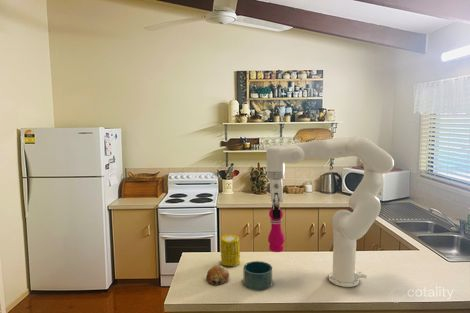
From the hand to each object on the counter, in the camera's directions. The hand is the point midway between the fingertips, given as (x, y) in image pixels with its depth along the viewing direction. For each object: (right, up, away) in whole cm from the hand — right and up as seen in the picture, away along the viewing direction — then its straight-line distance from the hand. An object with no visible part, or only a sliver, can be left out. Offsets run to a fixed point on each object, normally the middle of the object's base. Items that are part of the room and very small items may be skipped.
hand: (276, 215), depth 138 cm
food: (-20, -28, +22) cm, 41 cm away
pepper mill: (0, -15, +2) cm, 15 cm away
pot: (-8, -30, +3) cm, 31 cm away
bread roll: (-26, -30, +5) cm, 40 cm away
